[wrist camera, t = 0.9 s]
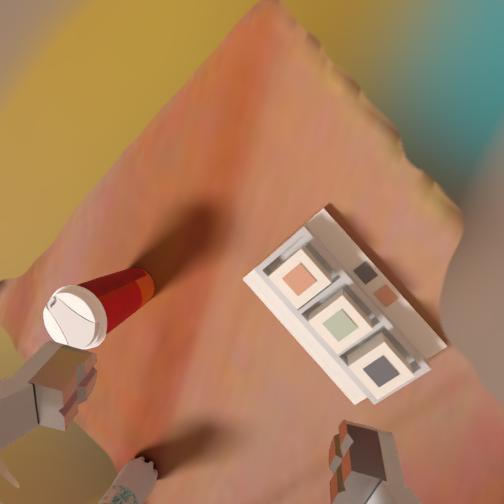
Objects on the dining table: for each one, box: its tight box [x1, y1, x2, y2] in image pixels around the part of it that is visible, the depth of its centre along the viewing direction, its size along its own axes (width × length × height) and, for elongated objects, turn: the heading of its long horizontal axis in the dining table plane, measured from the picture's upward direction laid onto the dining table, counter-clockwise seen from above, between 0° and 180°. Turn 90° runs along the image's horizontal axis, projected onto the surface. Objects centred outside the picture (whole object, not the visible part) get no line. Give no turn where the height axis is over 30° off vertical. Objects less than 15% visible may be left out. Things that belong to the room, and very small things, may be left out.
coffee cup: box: [44, 268, 155, 349], centre depth 49 cm, size 8×8×15 cm
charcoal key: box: [347, 332, 415, 400], centre depth 45 cm, size 6×6×3 cm
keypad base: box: [243, 208, 447, 405], centre depth 47 cm, size 24×15×4 cm, turn 43°
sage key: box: [308, 288, 373, 354], centre depth 45 cm, size 6×6×3 cm
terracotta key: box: [268, 245, 332, 309], centre depth 45 cm, size 6×6×3 cm
